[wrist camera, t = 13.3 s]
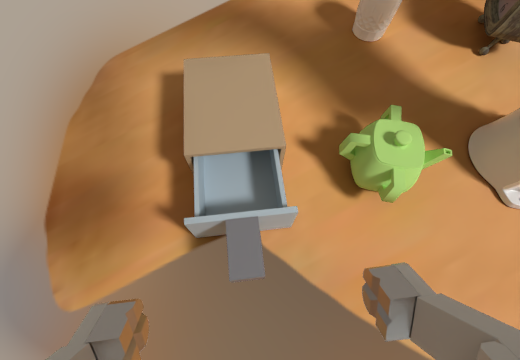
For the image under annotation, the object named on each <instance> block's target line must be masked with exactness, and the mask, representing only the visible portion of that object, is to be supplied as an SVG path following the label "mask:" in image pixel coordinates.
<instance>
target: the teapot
mask: <svg viewBox="0 0 520 360" xmlns="http://www.w3.org/2000/svg"><path fill="white" fill-rule="evenodd" d="M339 154H340V155H342V156H344V157H345V158H347V159H349V160H350V164H351V170H352V175H353V178H354V181H355V183H356V184H357V185H358V186H359V187H361V188H364V189H367V190H372V191H377V192H379V195H380V197H381V200H382V201H385V202H391V203H393V202H394V201H395V200H396V199H397V198H398V197H399V196H400V195H401V193H404V192H406V191H408V190H409V189H410V188H411V187H412V186H413V185H414V184H415V182H416V181H417V179H418V177H419V175H420V173H421V170H422V169H425V168H427V167H429V166H431V165H433V164H435V163H438V162H440V161H442V160H444V159H446V158H449V157H451V156H452V150H450V149H446V148H442V149H436V150H429V151H425V145H424V140H423V136H422V133H421V131H420V129H419V127H418V126H417V125H415V124H413V123H409V122H403V121H401V106H396V105H391V106H390V107H389V108H388V109H387V110H386V111H385V112H384V113H383V115H382V116H381V119H379V120H377V121H375V122H373V123H371V124H369V125H368V126H366V127H365V128H364V129H363V130H362V131H361V132H360V133H359V134H357V133H350V134H349V135H348V137H347V138H346V139H345V140H344V141H343V142H342V143H341V144H340V145H339Z"/></svg>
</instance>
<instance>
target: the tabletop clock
mask: <svg viewBox="0 0 520 360" xmlns="http://www.w3.org/2000/svg"><path fill="white" fill-rule="evenodd" d="M478 22H479V23H483V22H484V27H485V33H486V34H487V35H488V36H491V37H496V38H495V39H494V40H493V41H492V42H491V43H490V44H489V45H488V46H487V47H482V48H481V49H480V51H479V54H480V55H486V54H487V53H488V52H489V48H490V47H491V46H493V45H494V44H495V43H497V42H498V41H500V40H501V43H503V44H506V43H508V42H509V41H515V42H519V43H520V0H486V3H485V7H484V14H483V15H481V16H480V17H479V18H478Z"/></svg>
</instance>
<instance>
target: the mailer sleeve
mask: <svg viewBox="0 0 520 360" xmlns="http://www.w3.org/2000/svg"><path fill="white" fill-rule="evenodd" d="M272 149H278V154H279V160H280V166H281V170H282V165H283V159H284V154H285V149H286V142H285V137H284V131H283V126H282V120H281V115H280V109H279V104H278V98H277V93H276V88H275V82H274V77H273V71H272V66H271V60H270V55H269V53H264V54H250V55H236V56H222V57H208V58H194V59H184V157H185V159H186V161H187V163H188V165H189V167H190V169H191V171H192V173H193V175H194V157H197V156H207V155H218V154H229V153H240V152H250V151H261V150H272Z"/></svg>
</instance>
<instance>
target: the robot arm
mask: <svg viewBox="0 0 520 360" xmlns="http://www.w3.org/2000/svg"><path fill="white" fill-rule="evenodd" d="M468 149H469V155H470V158H471V160H472V163H473V164H474V166H475V168H476V169H477V171H478V172H479V173H480V174H481V175H482V177H483V178H484V179H486V180H487V181H488V182H489V183H490V184H491V185H492V186H493V187H494V188H495V189H496V191H497V193H498V194H499V196H500V198H501V199H502V201H503V202H504V203H505V204H506V205H507V206H509V207H512V208H517V209H520V108H519V109H517V110H515V111H513V112H511V113H510V114H508V115H506V116H504V117H502V118H500V119H498V120H496V121H494V122H491V123H489V124H486V125H484V126H481V127H479V128H478V129H476V130H475V131H474V132H473V133H472V135H471V137H470V139H469V144H468ZM363 278H364V280H365V281H366V283H365V284H364V286H363V287H362V296H363V301H364V304H365V306H366V309H367V310H368V312H369V314H370V315H372V316H374V317H375V318H376V326H377V328H378V329H379V331H380V333H381V335H382V336H383V338H384V340H385V341H394V340H403V339H410V340H411V341H412V342H414V343H415V344H416V345H418V346H419V347H420V348H421V349H423V350H424V351H425V352H427V353H428V354H429V355H431V356H432V357H433V358H435V359H436V360H520V330H518V329H516V328H514V327H511V326H509V325H507V324H505V323H503V322H501V321H499V320H496V319H494V318H492V317H490V316H488V315H486V314H484V313H481V312H479V311H477V310H475V309H473V308H471V307H469V306H466V305H464V304H462V303H460V302H458V301H456V300H454V299H451V298H449V297H447V296H445V295H443V294H436V293H435V292H434V291H433V290H432V289H431V288H430V287H429V286H428V285H427V284H426V282H425V281H424V280H423V279H422V278H421V277H420V276H419V275H418V274H417V273H416V272H415V271H414V270H413V269H412V268H411V267H410V266H409V265H408V264H407V263H405V262H404V263H398V264H391V265H386V266H379V267H372V268H365V269H364V272H363ZM143 308H144V306H143V303H142V300H141V299H132V300H122V301H113V302H107V303H99V304H95V305H94V306H92V307H91V309H90V310H89V312H88V313H87V315H86V316H85V318H84V320H83V321H82V323H81V324H80V326H79V327H78V329H77V331H76V332H75V334H74V335H73V337H72V339H71V340H70V342H69V343H68V345H67V346H65V347H61V348H60V349H59V350H57V351H56V352H55V353H53V354H52V355H51V356H49V358H47V359H46V360H141V356H140V353H139V352H140V351H141V350H142V349H143V348H144V347H145V346H146V343H147V340H148V336H149V321H148V318H147V316H146V315H144V314H143V313H142V311H143Z"/></svg>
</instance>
